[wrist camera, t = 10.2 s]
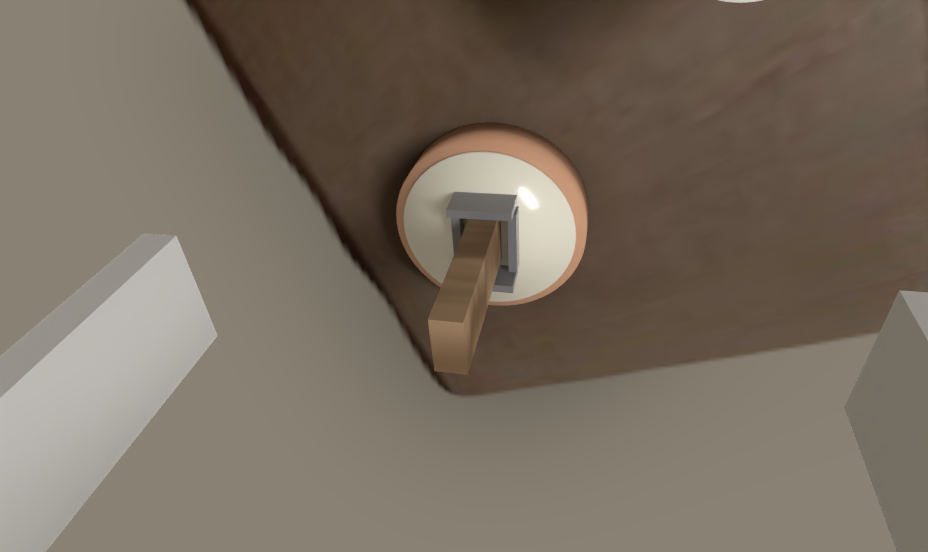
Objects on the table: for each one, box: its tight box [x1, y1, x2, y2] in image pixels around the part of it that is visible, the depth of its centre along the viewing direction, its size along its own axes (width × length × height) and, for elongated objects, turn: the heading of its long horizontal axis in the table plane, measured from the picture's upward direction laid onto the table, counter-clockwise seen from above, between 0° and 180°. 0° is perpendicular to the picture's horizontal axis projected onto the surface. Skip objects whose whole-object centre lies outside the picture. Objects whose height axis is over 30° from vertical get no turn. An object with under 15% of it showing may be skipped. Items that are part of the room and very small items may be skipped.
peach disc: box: [396, 123, 589, 305], centre depth 44 cm, size 14×14×6 cm
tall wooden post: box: [428, 219, 502, 375], centre depth 39 cm, size 4×2×12 cm, turn 4°
